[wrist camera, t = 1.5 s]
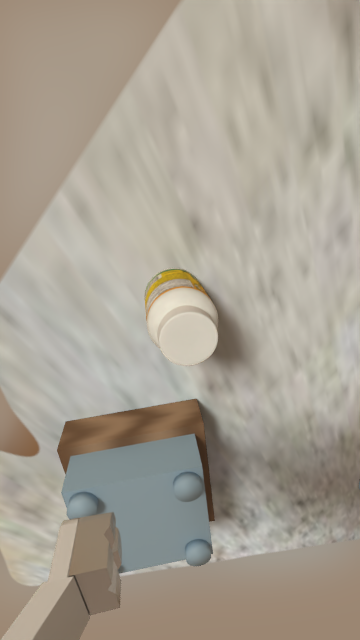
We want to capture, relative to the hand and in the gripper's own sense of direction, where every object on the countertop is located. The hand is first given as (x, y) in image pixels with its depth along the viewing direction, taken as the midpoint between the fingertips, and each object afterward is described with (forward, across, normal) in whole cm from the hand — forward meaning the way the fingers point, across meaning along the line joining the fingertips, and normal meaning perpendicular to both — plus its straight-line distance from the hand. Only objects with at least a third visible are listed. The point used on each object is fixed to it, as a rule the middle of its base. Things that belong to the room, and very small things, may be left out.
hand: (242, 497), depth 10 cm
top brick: (+17, +6, +19) cm, 26 cm away
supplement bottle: (+22, 0, 0) cm, 22 cm away
